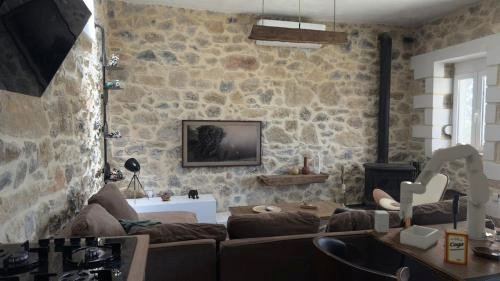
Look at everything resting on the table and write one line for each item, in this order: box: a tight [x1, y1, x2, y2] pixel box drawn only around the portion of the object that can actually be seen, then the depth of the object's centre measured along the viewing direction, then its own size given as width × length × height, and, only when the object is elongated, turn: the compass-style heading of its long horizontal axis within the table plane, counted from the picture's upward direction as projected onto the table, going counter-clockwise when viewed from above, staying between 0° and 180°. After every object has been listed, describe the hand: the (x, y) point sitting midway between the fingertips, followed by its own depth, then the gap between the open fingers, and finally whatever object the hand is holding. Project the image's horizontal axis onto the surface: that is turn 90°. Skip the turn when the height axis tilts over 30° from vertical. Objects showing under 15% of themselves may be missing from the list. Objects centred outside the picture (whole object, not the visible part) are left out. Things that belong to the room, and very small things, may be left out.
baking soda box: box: [443, 228, 469, 266], centre depth 175 cm, size 10×6×16 cm
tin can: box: [401, 216, 411, 231], centre depth 228 cm, size 5×5×10 cm
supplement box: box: [374, 210, 390, 233], centre depth 226 cm, size 7×7×13 cm
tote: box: [399, 224, 439, 250], centre depth 204 cm, size 20×14×7 cm
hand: (406, 225), depth 228 cm, fingers open, 9 cm apart
